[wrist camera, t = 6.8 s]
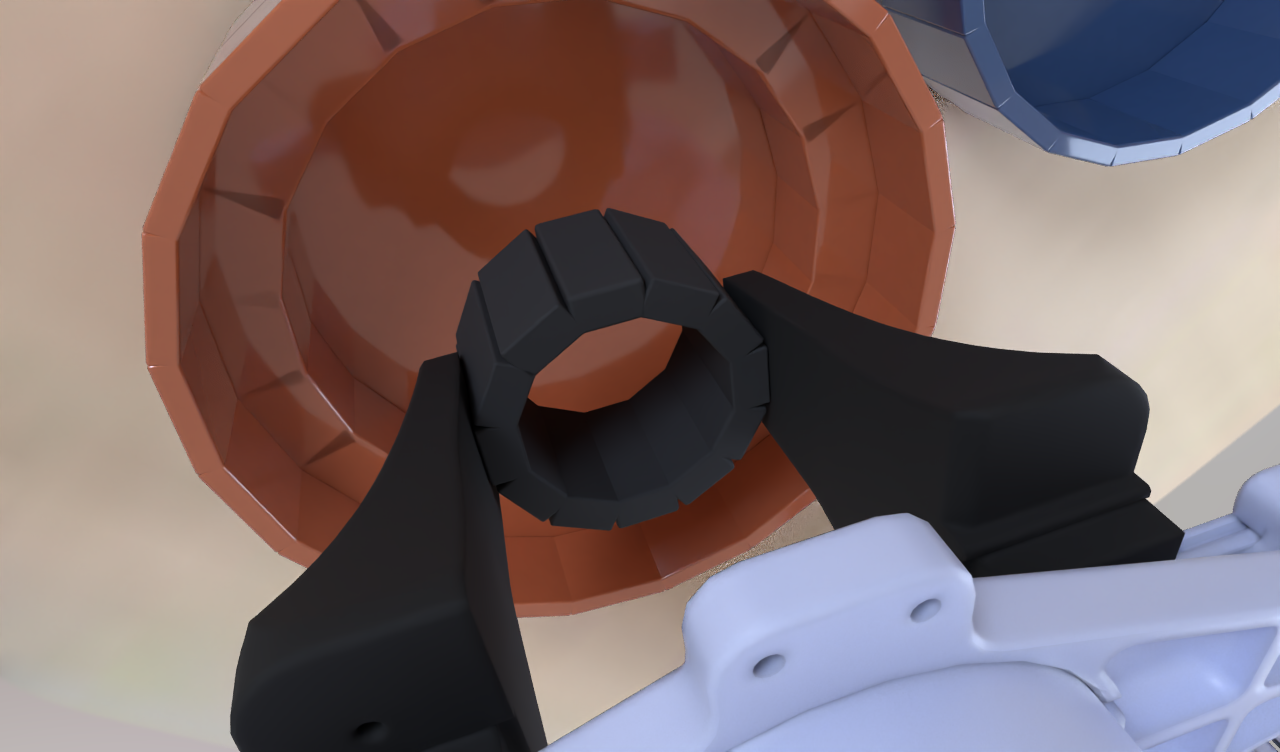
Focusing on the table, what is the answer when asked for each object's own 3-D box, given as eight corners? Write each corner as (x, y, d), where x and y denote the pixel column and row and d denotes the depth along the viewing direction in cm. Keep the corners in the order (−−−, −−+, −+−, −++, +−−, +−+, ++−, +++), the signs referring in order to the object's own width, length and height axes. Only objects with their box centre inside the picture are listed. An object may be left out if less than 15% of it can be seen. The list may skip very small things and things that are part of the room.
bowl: (926, 232, 23) (1049, 321, 19) (529, 557, 25) (563, 696, 21) (581, -348, 14) (674, -412, 10) (22, 241, 16) (-81, 378, 12)
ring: (757, 324, 17) (819, 402, 15) (577, 474, 18) (610, 569, 16) (607, 152, 14) (656, 216, 12) (399, 341, 15) (409, 434, 13)
